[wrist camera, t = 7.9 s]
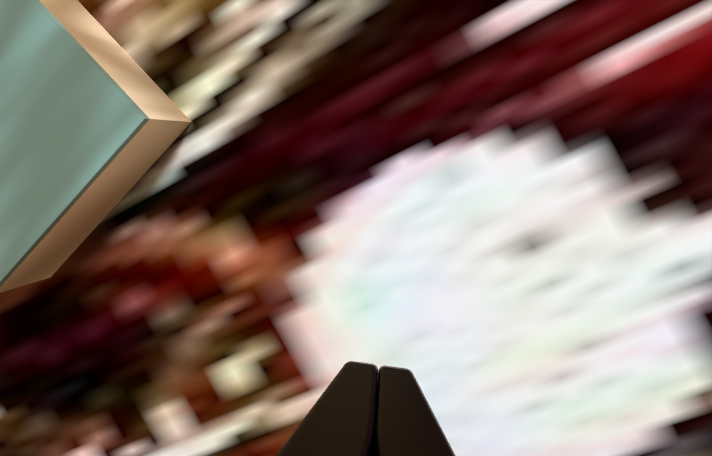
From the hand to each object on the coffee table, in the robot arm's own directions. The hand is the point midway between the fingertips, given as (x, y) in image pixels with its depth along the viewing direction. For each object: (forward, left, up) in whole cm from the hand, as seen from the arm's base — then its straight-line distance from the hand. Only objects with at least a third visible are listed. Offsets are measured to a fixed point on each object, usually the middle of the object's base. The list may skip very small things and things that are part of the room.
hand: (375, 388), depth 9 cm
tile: (+1, +11, -12) cm, 16 cm away
